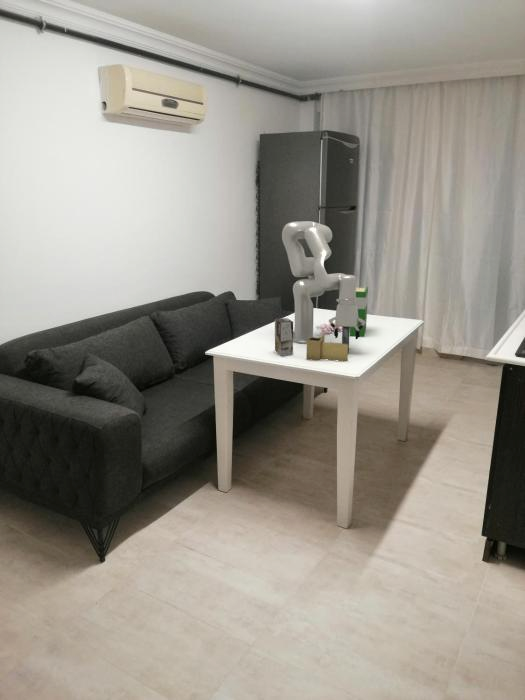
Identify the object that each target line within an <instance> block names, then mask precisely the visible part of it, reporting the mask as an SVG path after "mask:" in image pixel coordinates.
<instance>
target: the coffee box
mask: <svg viewBox="0 0 525 700" xmlns="http://www.w3.org/2000/svg"><path fill="white" fill-rule="evenodd" d="M293 331H294V320H291V319H289V318H287V317H285V318H284V317H283V318H275V319H274V352H275V351H276V352H277V353H278V355H279V356H280V357H286V356H285V355H290V356H294V342H293ZM276 352H275V353H276ZM277 353H276V354H277Z"/></svg>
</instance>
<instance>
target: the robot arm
mask: <svg viewBox="0 0 525 700" xmlns="http://www.w3.org/2000/svg"><path fill="white" fill-rule="evenodd" d="M281 239H282V243H283V246H284V248H285V251H286V253H287V259H288V262H289V265H290V266H289V267H290V270H291V273H292V275H293V276H294V277H295V278H302V279H298V280H297V281H296V282H294V283H293V286H292V292H293V293H292V294H293V299H294V330H293V343H295V344H296V343H297V344H307V340H308V339H309V338H310V337H314V311H315V310H314V304H313V301H312V299H311V298H317V297H320V296H322V295H324V294H325V292H329V291H335V290H338V291H339V293H338V298H337V299H335V302H336V303H338V304H337V305H336V308H335V309H336V311H335V316H334V317H331V318H330V319H328V322H329V324H330V327H331V328H332V329H333V330H334V331H333V336H334V338H335V339H337V338H338V337H339V329H338V328H339V327H341V328H342V327H355V329H356V337H355V340H358V339H359V338H360V337H359V336H360V329H361V328H363V326H364V325H365V323H366V324H367V320H366V321H364V320H362V319H361V318H359V317H358V309H357V305H356V288H357V277H356V276H355V275H353V274H345V273H343V272H341V273H340V272H337V273H336V272H335V273H327V271H326V268H325V261H326V260H328V259H329V258H330V256H331V255H332V249H331V248H330V247H329V244H328V243H330V242H331V241H332V240H333V232H332V230H331V228H330V227H329V226H327V225H325V224H322V223H319V222H315V221H309V220H308V221H307V220H306V221H304V220H303V221H290V222H288V223H286V224H285V225H284V226H283V229H282V232H281ZM304 239H305V242H306V243H307V246H308V248H309V250H310V252H311V255H312V256H310V257H307V256H306V254H305V249H304V247H303V245H302V244H301V243H300V241H298V240H304ZM304 277H308V278H304ZM334 321H335V323H334ZM358 321H359V322H361V323H362V324H361V326H360V327H359V326H358Z"/></svg>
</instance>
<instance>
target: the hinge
mask: <svg viewBox="0 0 525 700" xmlns="http://www.w3.org/2000/svg"><path fill="white" fill-rule="evenodd" d="M325 337H326V335H325V333H322V334H320V336H318V337H314V336H313V337H310V338H309V339H308V340H307V343H306V360H307V359H312V360H311V361H317V360H320V361H321V360H324V359H328V360H327V361H334V360H338V361H337V362H344V361H347V362H348V361H349V360H348V359H349V358H348V355H349V353H348V344H342V342H341V343H340V342H329V341H325Z"/></svg>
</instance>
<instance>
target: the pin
mask: <svg viewBox="0 0 525 700" xmlns="http://www.w3.org/2000/svg"><path fill="white" fill-rule="evenodd" d="M341 328H342V329H341V330H342V331H341V332H342V333H341V343H342V344H348V354H349V353H350V327H341Z"/></svg>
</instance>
